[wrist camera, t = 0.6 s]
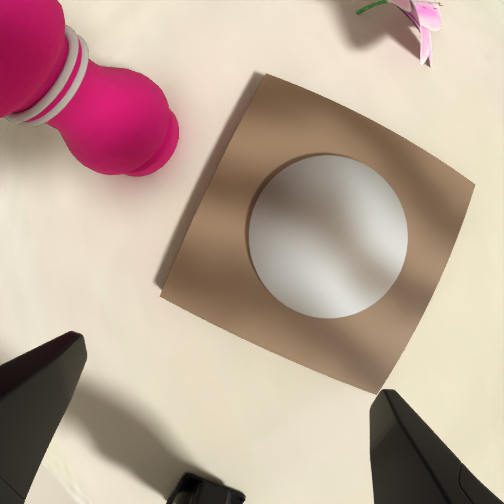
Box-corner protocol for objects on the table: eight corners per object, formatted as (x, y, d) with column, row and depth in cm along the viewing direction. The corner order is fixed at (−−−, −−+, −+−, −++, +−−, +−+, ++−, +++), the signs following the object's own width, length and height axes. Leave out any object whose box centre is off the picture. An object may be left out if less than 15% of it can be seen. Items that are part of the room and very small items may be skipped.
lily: (377, 104, 23) (478, 79, 14) (286, -10, 18) (368, -76, 9) (423, 54, 25) (498, 33, 16) (356, -35, 21) (424, -75, 12)
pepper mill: (205, 129, 23) (39, -72, 3) (142, 202, 24) (-113, 158, 4) (144, 82, 23) (-14, -70, 3) (89, 148, 24) (-116, 74, 4)
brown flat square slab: (372, 388, 23) (377, 397, 21) (165, 293, 24) (157, 297, 22) (467, 186, 21) (477, 183, 20) (266, 80, 22) (265, 71, 21)
